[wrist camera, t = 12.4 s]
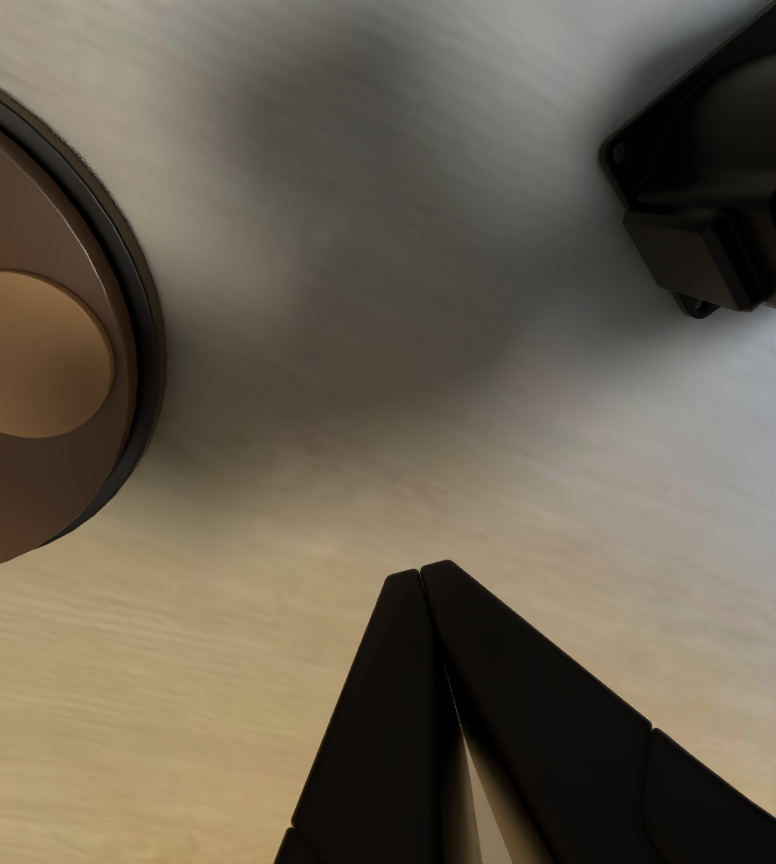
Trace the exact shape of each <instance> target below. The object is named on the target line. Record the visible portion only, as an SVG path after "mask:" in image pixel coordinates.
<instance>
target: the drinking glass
mask: <svg viewBox="0 0 776 864" xmlns="http://www.w3.org/2000/svg"><path fill="white" fill-rule="evenodd" d="M463 739H464V743H465V748H466V754H467V759H468V765H469V772H470V779H471V786H472V793H473V800H474V807H475V814H476V821H477V828H478V835H479V842H480V849H481V855H482V862H483V864H513V863H512V860H511V858H510V855H509V853H508V850H507V848H506V845H505V843H504V840H503V838H502V835H501V833H500V830H499V828H498V825H497V823H496V820H495V817H494V815H493V812H492V810H491V807H490V805H489V802H488V800H487V797H486V795H485V792H484V790H483V787H482V785H481V782H480V779H479V777H478V774H477V772H476V769H475V767H474V764H473V761H472V759H471V756H470V753H469V750H468V748H467V745H466V741H465V738H464V737H463Z"/></svg>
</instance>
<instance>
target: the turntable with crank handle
mask: <svg viewBox="0 0 776 864" xmlns="http://www.w3.org/2000/svg"><path fill="white" fill-rule="evenodd" d="M137 384H138V372H137V356H136V345H135V340H134V335H133V331H132V326H131V321H130V316H129V313H128V310H127V307H126V304H125V301H124V298H123V295H122V292H121V289H120V286H119V284H118V281H117V279H116V277H115V275H114V273H113V270H112V268H111V266H110V264H109V262H108V260H107V258H106V256H105V254H104V252H103V250H102V248H101V246H100V244H99V243H98V241H97V240H96V238H95V237H94V235H93V234H92V232H91V230H90V229H89V227H88V226H87V224H86V223H85V221H84V219H83V218H82V216H81V215H80V213H79V212H78V211H77V209H76V208H75V207H74V206H73V204H72V203H71V202H70V201H69V199H68V198H67V197H66V196H65V194H64V193H63V192H62V191H61V189H60V188H59V187H58V186H57V184H56V183H55V182H54V181H53V179H52V178H51V177H50V176H49V175H48V174H47V173H46V172H45V171H44V170H43V169H42V168H41V167H40V166H39V165H38V164H37V163H36V162H35V161H34V160H33V159H32V158H31V157H30V156H29V155H28V154H27V153H26V152H25V151H24V150H23V149H22V148H21V147H20V146H18V145H17V144H16V143H15V142H14V141H12V140H11V139H10V138H9V137H7V136H6V135H5V134H4V133H3V132H1V131H0V564H1V563H4V562H7V561H9V560H11V559H13V558H16V557H18V556H20V555H22V554H24V553H26V552H29V551H31V550H33V549H35V548H36V547H38V546H39V545H41V544H43V543H44V542H46V541H47V540H49V539H50V538H52V537H54V536H55V535H57V534H58V533H59V532H60V531H62V530H63V529H64V528H65V527H66V526H67V525H69V524H70V523H71V522H72V521H73V520H74V519H76V518H77V517H78V516H79V515H80V513H81V512H82V511H83V510H84V509H85V508H86V506H87V505H88V504H89V503H90V502H91V501H92V499H93V498H94V497H95V496H96V495H97V493H98V492H99V490H100V489H101V487H102V486H103V485H104V483H105V482H106V480H107V478H108V477H109V475H110V473H111V472H112V470H113V469H114V467H115V465H116V464H117V462H118V460H119V458H120V456H121V453H122V451H123V448H124V446H125V444H126V441H127V439H128V436H129V433H130V429H131V425H132V421H133V416H134V412H135V408H136V396H137Z"/></svg>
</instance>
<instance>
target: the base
mask: <svg viewBox="0 0 776 864" xmlns="http://www.w3.org/2000/svg"><path fill="white" fill-rule="evenodd" d="M0 131H1V132H3V133H4V134H5V135H6V136H7V137H9V138H10V139H11V140H12V141H14V142H15V143H16V144H17V145H18V146H20V147H21V148H22V149H23V150H24V151H25V152H26V153H27V154H28V155H29V156H30V157H31V158H32V159H33V160H34V161H35V162H36V163H37V164H38V165H39V166H40V167H41V168H42V169H43V170H44V171H45V172H46V173H47V174H48V175H49V176H50V177H51V178H52V179H53V181H54V182H55V183H56V184H57V186H58V187H59V188H60V189H61V191H62V192H63V193H64V194H65V196H66V197H67V198H68V199H69V201H70V202H71V203H72V204H73V206H74V207H75V208H76V209H77V211H78V212H79V213H80V215H81V216H82V218H83V219H84V221H85V223H86V224H87V226H88V227H89V229H90V230H91V232H92V234H93V235H94V237H95V238H96V240H97V241H98V243H99V244H100V246H101V248H102V250H103V252H104V254H105V256H106V258H107V260H108V262H109V264H110V266H111V268H112V270H113V273H114V275H115V277H116V279H117V281H118V284H119V286H120V289H121V292H122V295H123V298H124V301H125V304H126V307H127V310H128V313H129V316H130V321H131V326H132V331H133V335H134V340H135V345H136V356H137V372H138V384H137V396H136V408H135V412H134V416H133V421H132V425H131V429H130V433H129V436H128V439H127V441H126V444H125V446H124V448H123V451H122V453H121V456H120V458H119V460H118V462H117V464H116V465H115V467H114V469H113V470H112V472H111V473H110V475H109V477H108V478H107V480H106V482H105V483H104V485H103V486H102V487H101V489H100V490H99V492H98V493H97V495H96V496H95V497H94V498H93V499H92V501H91V502H90V503H89V504H88V505H87V506H86V508H85V509H84V510H83V511H82V512H81V513H80V515H79V516H78V517H77V518H76V519H74V520H73V521H72V522H71V523H70V524H69V525H67V526H66V527H65V528H64V529H63V530H62V531H60V532H59V533H58V534H57V535H55V536H54V537H52V538H50V539H49V540H47V541H46V542H44V543H43V544H41V545H39V546H38V547H36V548H39V547H42V546H44V545H47V544H49V543H51V542H53V541H55V540H57V539H58V538H60V537H62V536H64V535H66V534H68V533H70V532H72V531H73V530H75V529H76V528H77V527H79V526H80V525H82V524H83V523H84V522H86V521H87V520H89V519H90V518H91V517H93V516H94V515H95V514H96V513H97V512H98V511H99V510H101V509H102V508H103V507H104V506H105V505H106V504H107V503H108V502H109V501H110V500H111V499H112V498H113V497H114V496H115V495H116V493H117V492H118V491H119V489H120V488H121V487H122V485H123V484H124V483H125V481H126V480H127V479H128V478H129V476H130V475H131V473H132V472H133V470H134V469H135V467H136V466H137V464H138V462H139V461H140V459H141V457H142V455H143V453H144V451H145V449H146V448H147V446H148V444H149V442H150V440H151V438H152V435H153V432H154V430H155V427H156V424H157V421H158V418H159V415H160V412H161V407H162V402H163V396H164V391H165V386H166V365H167V350H166V340H165V331H164V322H163V317H162V313H161V309H160V305H159V301H158V297H157V293H156V289H155V286H154V283H153V281H152V278H151V275H150V273H149V270H148V267H147V265H146V262H145V260H144V257H143V254H142V253H141V251H140V249H139V247H138V245H137V243H136V241H135V239H134V237H133V235H132V233H131V231H130V230H129V228H128V226H127V224H126V222H125V220H124V219H123V217H122V216H121V214H120V213H119V211H118V210H117V208H116V207H115V205H114V204H113V202H112V201H111V199H110V198H109V196H108V195H107V193H106V192H105V191H104V189H103V188H102V186H101V185H100V184H99V183H98V181H97V180H96V179H95V178H94V177H93V176H92V174H91V173H90V172H89V171H88V170H87V168H86V167H85V166H84V165H83V164H82V163H81V161H80V160H79V159H78V158H77V157H76V155H75V154H74V153H73V152H72V151H71V150H70V149H69V148H68V147H66V146H65V145H64V144H63V143H62V142H61V141H60V140H59V139H58V138H57V137H56V136H55V135H54V134H53V133H52V132H51V131H50V130H49V129H48V128H47V127H46V126H44V125H43V124H42V123H41V122H40V121H39V120H38V119H36V118H35V117H34V116H32V115H31V114H30V113H28V112H27V111H26V110H25V109H23V108H22V107H21V106H19V105H18V104H17V103H15V102H14V101H13V100H12V99H10V98H9V97H8V96H6V95H5V94H4V93H2V92H0ZM36 548H35V549H36ZM33 550H34V549H33Z"/></svg>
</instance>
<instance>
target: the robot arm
mask: <svg viewBox="0 0 776 864" xmlns="http://www.w3.org/2000/svg"><path fill="white" fill-rule="evenodd" d="M618 144H620V145H621V146H622V147H623V150H624V153H623V157H622V158H621V160H620V161H619V162H617V161H615V160H614V157H613V152H614V148H615V147H616V146H617V145H618ZM599 162H600V165H601V167H602V169H603V170H604V172H605V174H606V176H607V177H608V179H609V181H610V183H611V185H612V186H613V188H614V190H615V192H616V194H617V195H618V197H619V199H620V201H621V203H622V204H623V206H624V208H625V210H626V211H625V212H624V216H623V225H624V227H625V228H626V230H627V232H628V234H629V236H630V237H631V239H632V241H633V243H634V244H635V246H636V248H637V250H638V251H639V253H640V255H641V257H642V259H643V260H644V262H645V264H646V266H647V267H648V269H649V271H650V273H651V275H652V276H653V278H654V280H655V282H656V283H657V285H658V286H660V287H663V288H666V289H669V290H670V291H671V293H672V294H673V296H674V298H675V300H676V302H677V303H678V305H679V307H680V309H681V311H682V312H683V313H684V314H685V315H687V316H690V317H693V318H696V319H703V318H705V317H707V316H709V315H710V314H712V313H713V312H714V311H716V310H717V309H719V308H720V307H721V306H722V307H725V308H729V309H732V310H735V311H739V312H752V311H754V310H755V309H756V308H758V307H759V306H761V305H765V306H768V307H772V308H775V309H776V0H775V1H774V2H772V3H771V4H770V5H769V6H768V7H766V8H765V9H764V10H763V11H761V12H760V13H759V14H758V15H757V16H755V17H754V18H753V19H752V20H750V21H749V22H748V23H747V24H746V25H744V26H743V27H742V28H741V29H739V30H738V31H737V32H736V33H735V34H733V35H732V36H731V37H730V38H728V39H727V40H726V41H725V42H724V43H722V44H721V45H720V46H719V47H717V48H716V49H715V50H714V51H713V52H711V53H710V54H709V55H708V56H706V57H705V58H704V59H703V60H702V61H700V62H699V63H698V64H697V65H696V66H694V67H693V68H692V69H691V70H689V71H688V72H687V73H686V74H685V75H683V76H682V77H681V78H680V79H678V80H677V81H676V82H675V83H674V84H672V85H671V86H670V87H669V88H667V89H666V90H665V91H664V92H663V93H661V94H660V95H659V96H658V97H656V98H655V99H654V100H653V101H652V102H650V103H649V104H648V105H647V106H645V107H644V108H643V109H642V110H641V111H639V112H638V113H637V114H636V115H634V116H633V117H632V118H631V119H630V120H628V121H627V122H626V123H625V124H623V125H622V126H621V127H620V128H619V129H617V130H616V131H615V132H614V133H612V134H611V135H610V136H609V137H608V138H607V139H606V140H605V141H604V142H603V143H602V145H601V147H600V150H599ZM697 299H700V300H702V304H701V305H700V306H699V307H698V308H696V309H695V302H696V300H697ZM420 575H421V576H420ZM421 579H422V580H421ZM422 582H423V583H422ZM423 586H424V587H423ZM424 590H425V591H424ZM428 605H429V606H428ZM444 665H445V666H444ZM447 676H448V677H447ZM448 680H449V681H448ZM450 687H451V688H450ZM451 691H452V692H451ZM452 695H453V696H452ZM453 698H454V700H453ZM454 702H455V703H454ZM455 706H456V707H455ZM456 710H457V711H456ZM457 713H458V715H457ZM458 717H459V718H458ZM459 721H460V722H459ZM460 724H461V726H460ZM461 728H462V730H461ZM462 731H463V734H462ZM463 735H464V738H465V741H466V745H467V748H468V750H469V753H470V756H471V759H472V761H473V764H474V767H475V769H476V772H477V774H478V777H479V779H480V782H481V785H482V787H483V790H484V792H485V795H486V797H487V800H488V802H489V805H490V807H491V810H492V812H493V815H494V817H495V820H496V823H497V825H498V828H499V830H500V833H501V835H502V838H503V840H504V843H505V845H506V848H507V850H508V853H509V855H510V858H511V860H512V863H513V864H776V818H775V817H774V816H772V815H771V814H769V813H768V812H767V811H765V810H764V809H762V808H761V807H759V806H758V805H757V804H755V803H754V802H752V801H751V800H749V799H748V798H747V797H746V796H744V795H743V794H742V793H740V792H739V791H738V790H736V789H735V788H734V787H733V786H731V785H730V784H729V783H727V782H726V781H725V780H723V779H722V778H721V777H720V776H718V775H717V774H716V773H714V772H713V771H712V770H710V769H709V768H708V767H707V766H705V765H704V764H703V763H701V762H700V761H699V760H697V759H696V758H695V757H694V756H692V755H691V754H690V753H689V752H687V751H686V750H685V749H684V748H683V747H681V746H680V745H679V744H678V743H676V742H675V741H674V740H673V739H672V738H670V737H669V736H668V735H667V734H665V733H664V732H663V731H662V730H661V729H659V728H654V729H653V728H652V723H651V722H650V721H649V720H648V719H646V718H645V717H644V716H643V715H641V714H640V713H639V712H638V711H637V710H635V709H634V708H633V707H632V706H630V705H629V704H628V703H627V702H625V701H624V700H623V699H622V698H621V697H619V696H618V695H617V694H616V693H614V692H613V691H612V690H611V689H609V688H608V687H607V686H606V685H605V684H603V683H602V682H601V681H600V680H598V679H597V678H596V677H595V676H593V675H592V674H591V673H590V672H588V671H587V670H586V669H585V668H584V667H582V666H581V665H580V664H579V663H577V662H576V661H575V660H574V659H572V658H571V657H570V656H569V655H568V654H566V653H565V652H564V651H563V650H561V649H560V648H559V647H558V646H556V645H555V644H554V643H553V642H552V641H550V640H549V639H548V638H547V637H545V636H544V635H543V634H542V633H540V632H539V631H538V630H537V629H535V628H534V627H533V626H532V625H531V624H529V623H528V622H527V621H526V620H524V619H523V618H522V617H521V616H519V615H518V614H517V613H516V612H515V611H513V610H512V609H511V608H510V607H508V606H507V605H506V604H505V603H503V602H502V601H501V600H500V599H499V598H497V597H496V596H495V595H494V594H492V593H491V592H490V591H489V590H487V589H486V588H485V587H484V586H483V585H481V584H480V583H479V582H478V581H476V580H475V579H474V578H473V577H471V576H470V575H469V574H468V573H466V572H465V571H464V570H463V569H462V568H460V567H459V566H458V565H457V564H455V563H454V562H453V561H451V560H443V561H439V562H435V563H432V564H428V565H424V566H422V567H421V569H420V573H419V571H418V570H417V569H410V570H406V571H402V572H398V573H395V574H391V575H389V576H388V577H387V578H386V580H385V582H384V585H383V587H382V590H381V592H380V595H379V597H378V600H377V602H376V605H375V608H374V610H373V613H372V615H371V618H370V620H369V623H368V625H367V628H366V630H365V633H364V635H363V638H362V641H361V643H360V646H359V648H358V651H357V653H356V656H355V658H354V661H353V663H352V666H351V668H350V671H349V674H348V676H347V679H346V681H345V684H344V686H343V689H342V691H341V694H340V696H339V699H338V701H337V704H336V707H335V709H334V712H333V714H332V717H331V719H330V722H329V724H328V727H327V729H326V732H325V735H324V737H323V740H322V742H321V745H320V747H319V750H318V752H317V755H316V757H315V760H314V762H313V765H312V768H311V770H310V773H309V775H308V778H307V780H306V783H305V785H304V788H303V790H302V793H301V795H300V798H299V801H298V803H297V806H296V808H295V811H294V813H293V816H292V818H291V824H292V827H290V828H288V829H287V830H286V832H285V835H284V838H283V840H282V843H281V845H280V848H279V850H278V853H277V856H276V858H275V861H274V863H273V864H483V862H482V855H481V849H480V842H479V835H478V828H477V821H476V814H475V807H474V800H473V793H472V786H471V779H470V772H469V765H468V759H467V754H466V748H465V743H464V739H463Z"/></svg>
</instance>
